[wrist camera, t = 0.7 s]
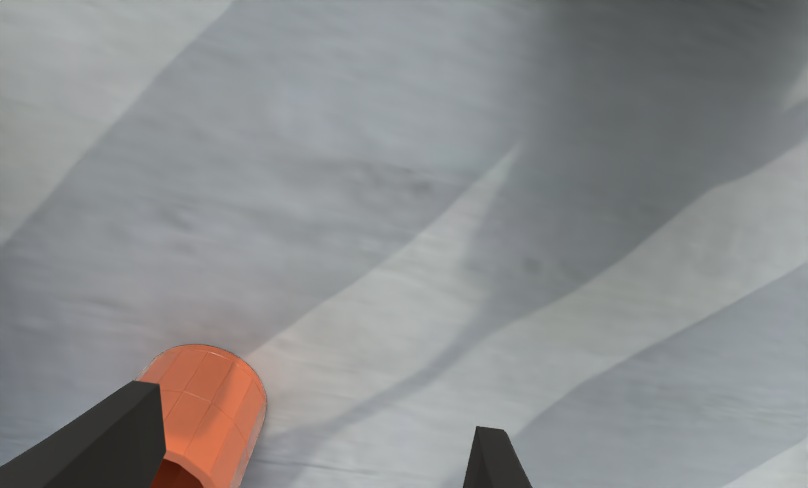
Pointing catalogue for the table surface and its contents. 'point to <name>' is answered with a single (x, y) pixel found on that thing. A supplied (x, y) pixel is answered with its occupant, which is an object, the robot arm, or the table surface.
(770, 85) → the table surface
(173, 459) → the orange faceted tumbler
